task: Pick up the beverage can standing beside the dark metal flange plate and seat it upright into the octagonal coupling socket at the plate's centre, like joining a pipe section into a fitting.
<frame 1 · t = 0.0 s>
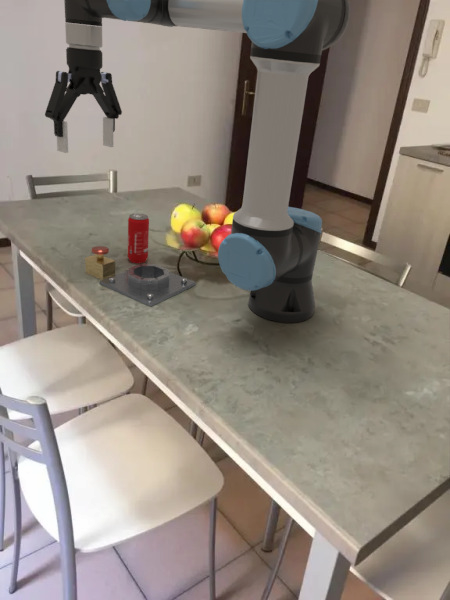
hand: (86, 148, 120), 28 cm above the table, fingers open, 13 cm apart
beverage can: (137, 261, 136), on the table
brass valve: (100, 274, 126), on the table
flange socket: (148, 284, 123), on the table
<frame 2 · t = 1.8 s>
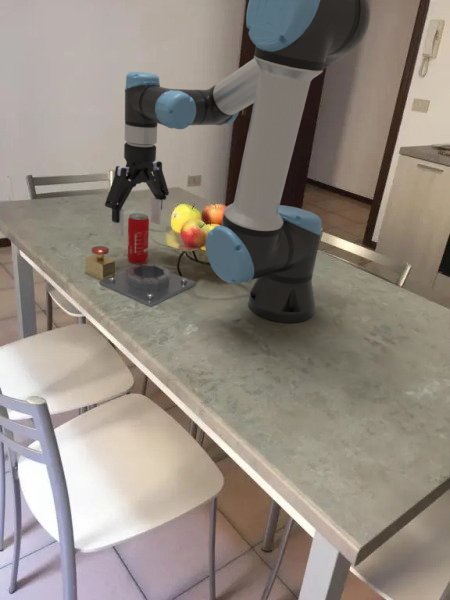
hand: (137, 228, 132), 9 cm above the table, fingers open, 13 cm apart
nothing on the table moved.
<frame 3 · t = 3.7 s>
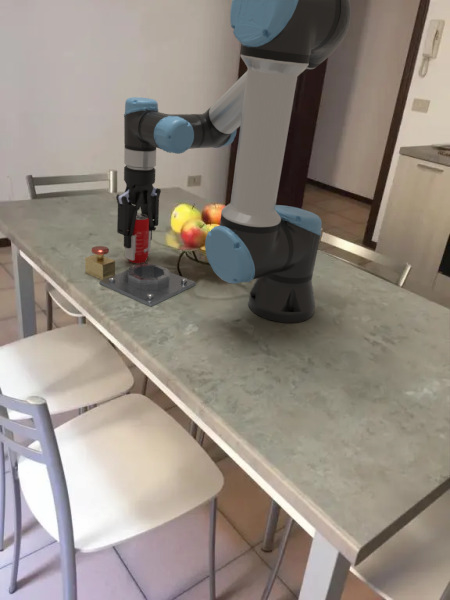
hand: (137, 255, 135), 1 cm above the table, fingers closed on beverage can, 5 cm apart
beverage can: (137, 261, 136), on the table, touching gripper
everything else where it was.
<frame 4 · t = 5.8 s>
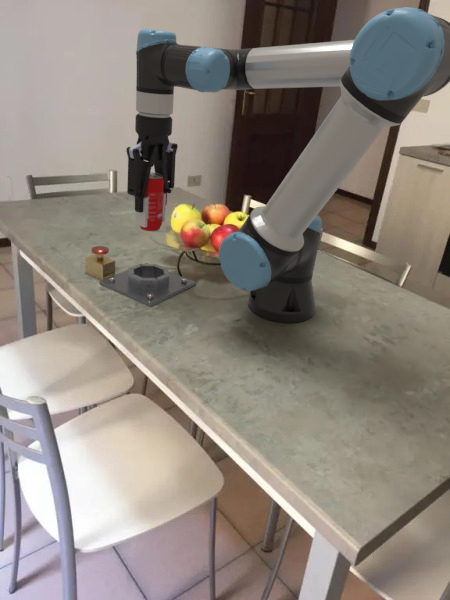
hand: (150, 222, 117), 15 cm above the table, fingers closed on beverage can, 5 cm apart
beverage can: (150, 228, 117), point 14 cm above the table, touching gripper
everything else where it was.
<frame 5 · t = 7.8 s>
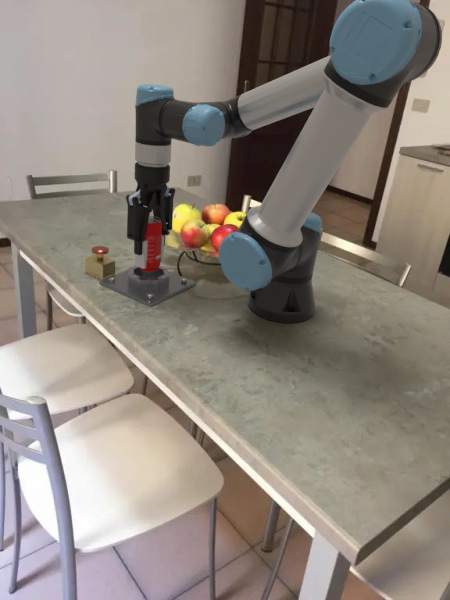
hand: (149, 263, 121), 6 cm above the table, fingers closed on beverage can, 5 cm apart
beverage can: (148, 269, 122), point 4 cm above the table, touching gripper
everything else where it was.
when the fingers open (6 cm above the table, at t = 8.2 s): beverage can drops 3 cm, resting on flange socket.
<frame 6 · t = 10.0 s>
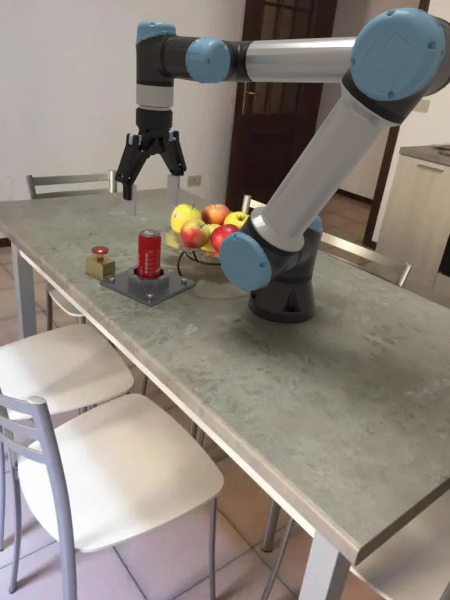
hand: (152, 209, 115), 19 cm above the table, fingers open, 13 cm apart
beverage can: (148, 282, 123), point 1 cm above the table, touching flange socket
everything else where it was.
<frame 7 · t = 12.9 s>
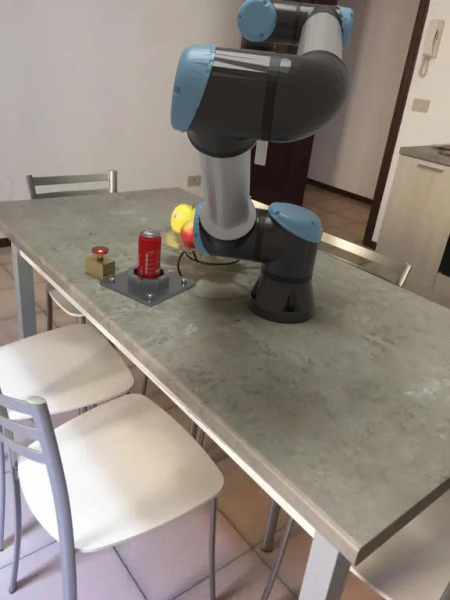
hand: (244, 167, 125), 27 cm above the table, fingers open, 13 cm apart
nothing on the table moved.
at the end: beverage can 0.0 cm from the flange socket (horizontally); beverage can tilted 0°; beverage can point 0.6 cm above the table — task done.
